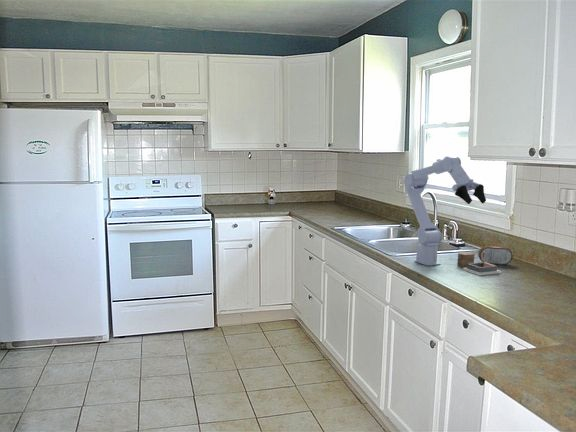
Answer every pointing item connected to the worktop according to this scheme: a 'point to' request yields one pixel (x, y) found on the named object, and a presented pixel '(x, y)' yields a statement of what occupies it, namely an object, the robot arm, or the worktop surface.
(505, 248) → the tin
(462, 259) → the plug block
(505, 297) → the worktop surface
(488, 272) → the grey tray
